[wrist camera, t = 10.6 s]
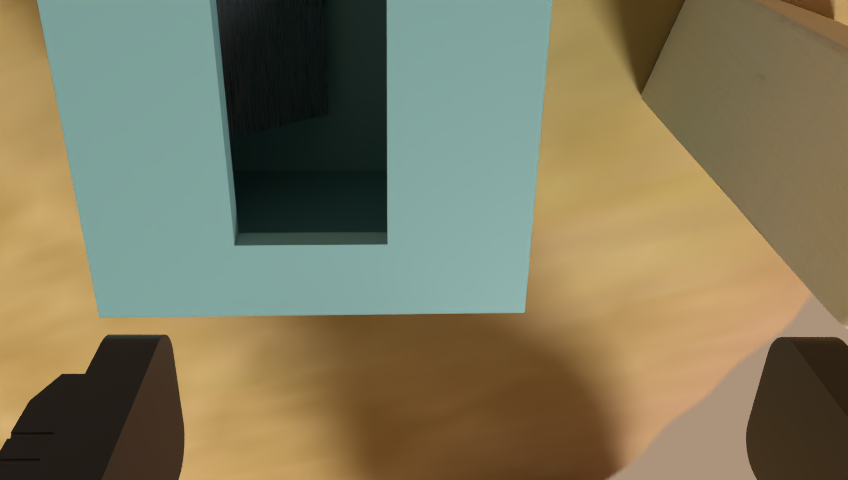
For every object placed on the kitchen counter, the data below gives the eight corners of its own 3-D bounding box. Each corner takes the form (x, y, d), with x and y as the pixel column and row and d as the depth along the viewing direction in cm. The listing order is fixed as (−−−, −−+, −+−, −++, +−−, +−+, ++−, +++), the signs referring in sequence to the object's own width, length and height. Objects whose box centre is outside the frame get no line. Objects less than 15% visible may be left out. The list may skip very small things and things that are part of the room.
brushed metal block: (283, -54, 36) (132, -41, 32) (322, -46, 34) (166, -30, 30) (292, 98, 39) (155, 128, 35) (328, 114, 37) (188, 148, 33)
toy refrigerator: (627, 111, 41) (831, 351, 23) (693, -32, 38) (991, 111, 20) (763, 155, 43) (1058, 414, 24) (838, 21, 40) (1241, 200, 21)
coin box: (129, -168, 35) (5, -160, 23) (504, -161, 35) (565, -150, 24) (176, 179, 42) (99, 317, 30) (485, 178, 43) (524, 312, 31)
